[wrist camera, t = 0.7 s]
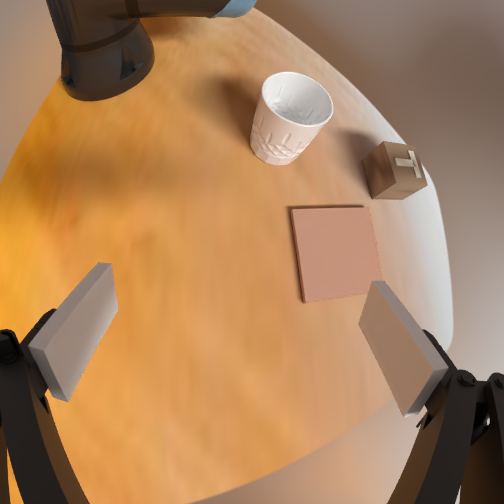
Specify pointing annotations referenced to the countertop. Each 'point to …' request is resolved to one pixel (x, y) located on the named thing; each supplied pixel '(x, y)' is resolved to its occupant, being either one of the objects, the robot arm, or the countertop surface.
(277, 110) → the white cup
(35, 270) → the countertop surface
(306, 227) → the coaster
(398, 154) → the letter block
